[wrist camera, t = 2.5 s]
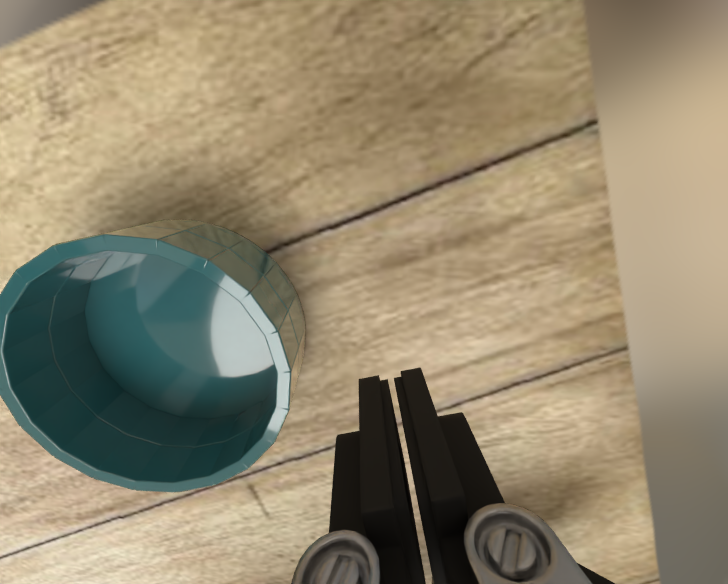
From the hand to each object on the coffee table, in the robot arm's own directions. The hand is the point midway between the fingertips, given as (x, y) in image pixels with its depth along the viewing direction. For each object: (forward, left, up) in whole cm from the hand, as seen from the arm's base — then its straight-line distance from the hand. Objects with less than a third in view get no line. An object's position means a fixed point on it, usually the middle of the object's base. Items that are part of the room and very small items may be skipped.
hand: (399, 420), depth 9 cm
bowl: (+3, -9, -10) cm, 14 cm away
